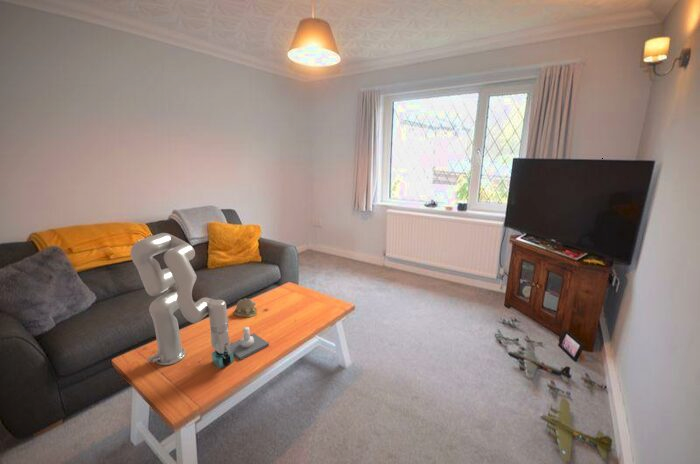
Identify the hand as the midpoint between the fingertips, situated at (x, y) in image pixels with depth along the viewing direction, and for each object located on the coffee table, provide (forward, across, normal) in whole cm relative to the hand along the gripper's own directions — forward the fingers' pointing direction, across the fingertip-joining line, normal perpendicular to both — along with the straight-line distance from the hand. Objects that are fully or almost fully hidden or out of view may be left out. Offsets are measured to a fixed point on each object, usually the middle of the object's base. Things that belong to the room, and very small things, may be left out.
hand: (223, 360), depth 149 cm
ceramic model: (+1, -35, +33) cm, 48 cm away
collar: (+1, 0, 0) cm, 1 cm away
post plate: (+1, -2, +14) cm, 14 cm away
